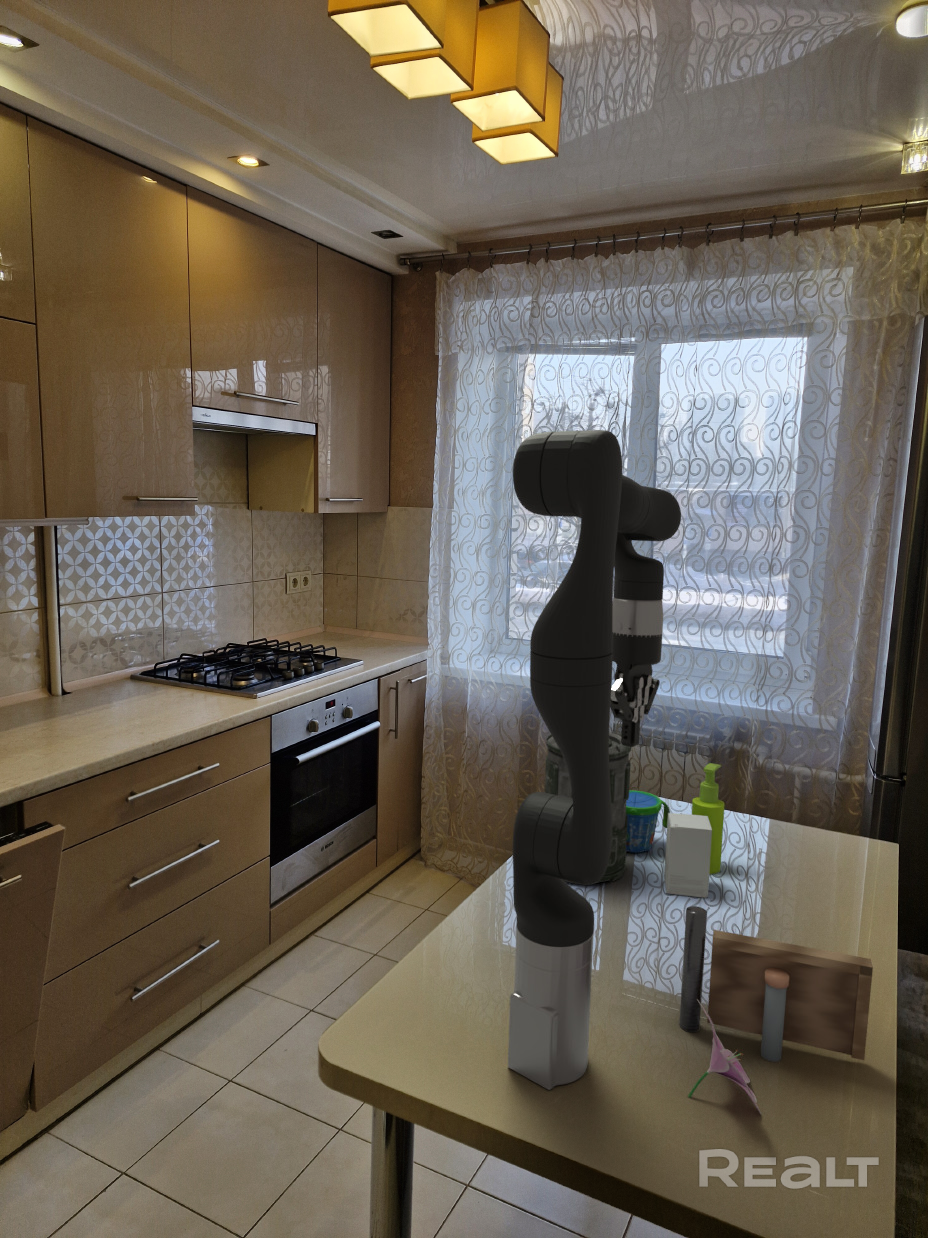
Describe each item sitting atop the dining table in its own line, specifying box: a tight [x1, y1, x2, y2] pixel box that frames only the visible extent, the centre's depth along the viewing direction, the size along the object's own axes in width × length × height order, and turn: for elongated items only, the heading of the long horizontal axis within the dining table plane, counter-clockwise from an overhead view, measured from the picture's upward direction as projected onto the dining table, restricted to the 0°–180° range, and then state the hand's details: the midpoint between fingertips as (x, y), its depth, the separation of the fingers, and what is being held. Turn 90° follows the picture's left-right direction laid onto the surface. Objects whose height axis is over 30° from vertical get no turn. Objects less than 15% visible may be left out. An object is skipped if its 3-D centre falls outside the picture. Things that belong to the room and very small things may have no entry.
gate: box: [706, 929, 874, 1061], centre depth 101 cm, size 18×2×12 cm, turn 70°
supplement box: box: [663, 812, 712, 899], centre depth 146 cm, size 7×7×13 cm
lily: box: [687, 1001, 763, 1116], centre depth 93 cm, size 12×12×10 cm
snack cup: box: [626, 789, 671, 854], centre depth 164 cm, size 16×10×10 cm
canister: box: [544, 731, 632, 886], centre depth 152 cm, size 16×16×28 cm
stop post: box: [760, 968, 789, 1063], centre depth 100 cm, size 3×3×11 cm
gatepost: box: [678, 905, 708, 1033], centre depth 105 cm, size 3×3×16 cm
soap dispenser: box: [691, 762, 725, 875], centre depth 154 cm, size 6×7×20 cm
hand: (630, 745), depth 120 cm, fingers closed
